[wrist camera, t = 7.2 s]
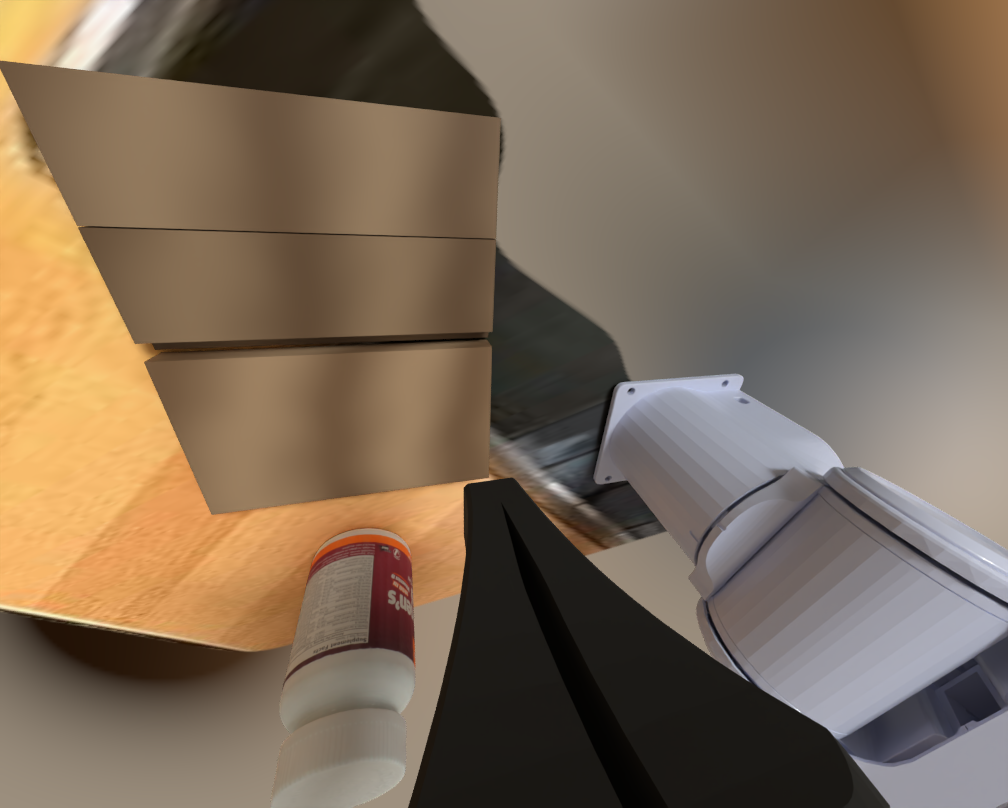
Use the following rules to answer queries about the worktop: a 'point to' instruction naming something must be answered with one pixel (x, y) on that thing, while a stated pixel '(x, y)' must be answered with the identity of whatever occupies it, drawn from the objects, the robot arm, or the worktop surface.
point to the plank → (327, 419)
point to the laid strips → (271, 209)
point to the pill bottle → (349, 675)
